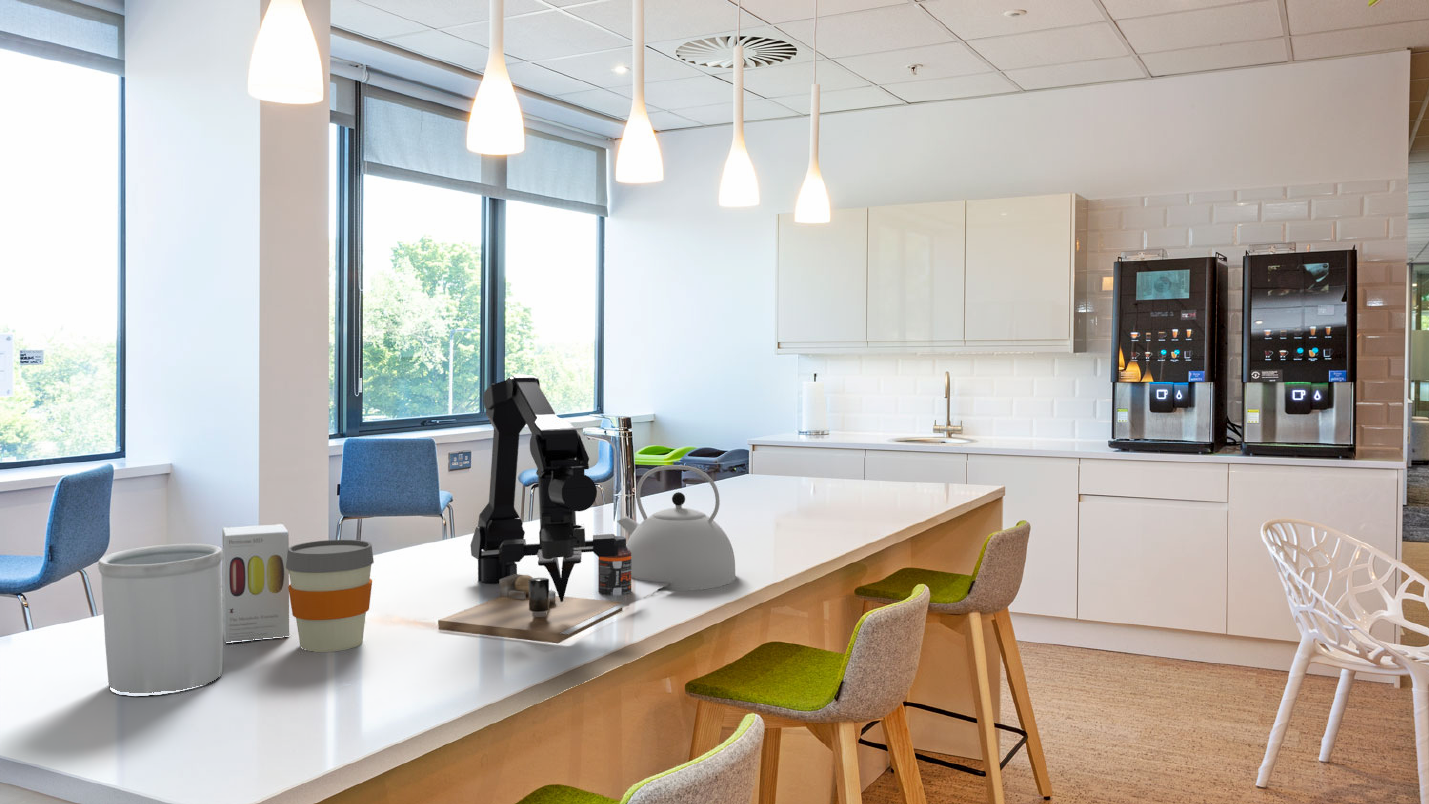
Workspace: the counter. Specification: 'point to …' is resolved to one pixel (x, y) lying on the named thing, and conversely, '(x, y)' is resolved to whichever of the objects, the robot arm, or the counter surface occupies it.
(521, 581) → the nut
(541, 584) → the lever
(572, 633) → the base
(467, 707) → the counter surface
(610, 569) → the supplement bottle
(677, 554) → the kettle
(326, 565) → the reusable coffee cup
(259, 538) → the supplement box
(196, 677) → the utensil holder
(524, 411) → the robot arm
